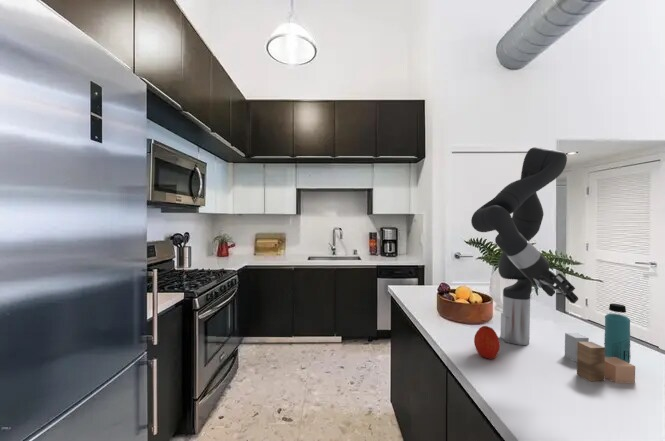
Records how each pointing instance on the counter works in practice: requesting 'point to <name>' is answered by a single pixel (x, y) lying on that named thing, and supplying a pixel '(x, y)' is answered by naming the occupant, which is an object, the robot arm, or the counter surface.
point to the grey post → (573, 344)
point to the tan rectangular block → (591, 361)
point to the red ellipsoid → (487, 342)
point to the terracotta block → (619, 370)
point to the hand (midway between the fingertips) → (563, 297)
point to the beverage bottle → (617, 334)
